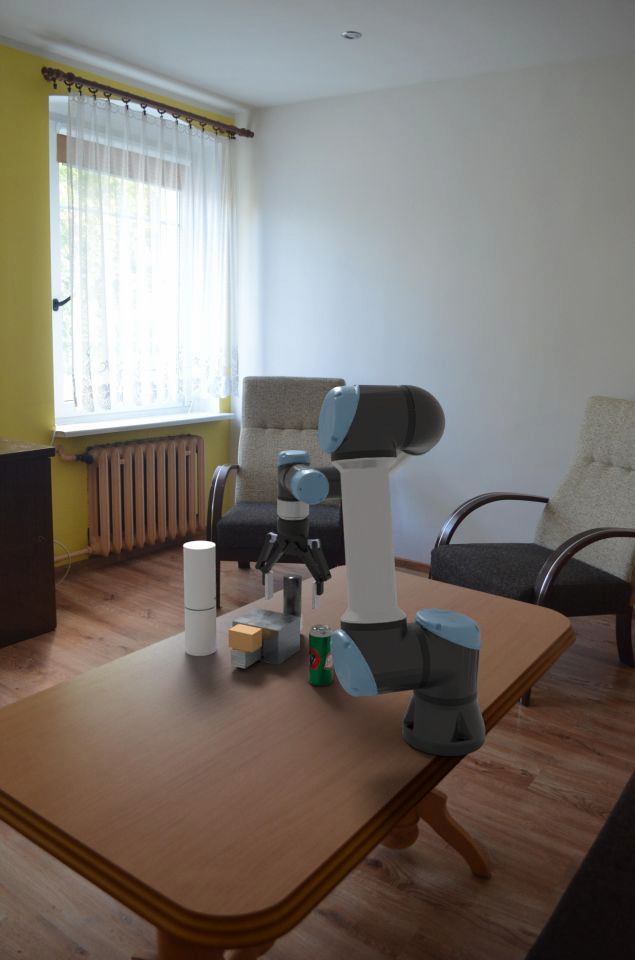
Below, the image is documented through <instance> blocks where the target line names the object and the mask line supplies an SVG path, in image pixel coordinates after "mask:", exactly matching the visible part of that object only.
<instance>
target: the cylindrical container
mask: <svg viewBox="0 0 635 960" xmlns="http://www.w3.org/2000/svg"><path fill="white" fill-rule="evenodd" d="M182 547H183V550H182V551H183V596H184V597H183V601H184V602H183V603H184V604H183V605H184V606H183V607H184V645H185V646H184V649H185V650H184V651H185V653H186V654H187V655H190V656H194V657H204V656H209V655H212V654H214V653H216V652H217V582H216V581H217V580H216V579H217V575H216V571H217V570H216V569H217V568H216V554H217V553H216V543H215V542H213V541H208V540H193V541H188V542H185V543H183V545H182Z"/></svg>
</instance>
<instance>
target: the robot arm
mask: <svg viewBox="0 0 635 960" xmlns="http://www.w3.org/2000/svg"><path fill="white" fill-rule="evenodd" d="M322 401H323V402H322V404H321V408H320V412H319V416H318V417H319V418H318V425H317V434H318V435H317V437H318V442H319V447H320V449H321V451H322V452H323V453H326V454H327V455H330V464H331V465H328V466H327V465H326V466H325V465H324V466H323V465H322V466H320V465H319V466H311V459H310V453H309V452H308V451H305V450H298V449H296V450H294V449H293V450H291V449H290V450H283V451H281V452H279V453H278V455H277V465H276V469H277V473H276V474H277V486H276V487H277V494H276V495H277V496H276V497H277V501H276V502H277V503H276V504H277V505H276V508H277V509H276V514H277V518H276V519H277V520H276V521H277V522H276V531H277V534H276V533H275V532H274V531H271V532H268V533H267V534H265V540H264V545H263V547H262V549H261V551H260V553H259V556H258V558H257V561H256V563H255V565H254V568H255V569H256V570H257V571H258V570H259V571H260V572H261V574H262V575H261V576H262V578H261V580H262V583H261V584H262V586H264V600H265V601H269V600H270V599H272V598H274V571H272V568H273V567H274V566H275V565H276V564H277V562H278V561H279V559H280V558H282V556H283V554H285V555H292V556H293V557H294V556H295V557H297V556H298V558H299V559H301V560H302V562H303V563H304V565H305V567H306V568H307V570H308V571H309V573H310V575H311V576H312V578H313V579H314V581H312V586H311V587H312V588H311V589H312V591H311V592H312V597H311V600H312V601H311V604H312V605H311V607H312V608H311V609H312V610H316V609H318V608H320V607H321V596H322V595H324V590H325V587H324V585H325V584H324V583H325V582H327V581H329V580H330V579H332V573H331V571H330V569H329V565H328V563H327V560H326V557H325V555H324V551H323V549H322V540H321V539H320V538H316V539H310V538H309V531H310V517H308V516H309V515H310V505H317V504H319V503H322V502H323V501H328V500H330V501H331V500H341V503H342V505H341V506H342V521H343V538H344V539H343V541H344V553H345V554H344V555H345V556H344V557H345V572H346V573H345V574H346V575H345V576H346V590H347V605H348V607H347V609H346V611H344V613H343V614H342V615H341V616H340V620H339V621H340V628H337V629H336V630H334V631H332V632H333V633H332V635H331V641H330V649H331V657H332V661H333V669H334V672H335V674H336V677H337V679H338V682H339V684H340V685H341V687H342V688H343V689H344V691H345V692H346V693H347V694H348V695H350V696H352V697H356V698H357V697H368V696H369V697H370V696H371V697H377V696H378V695H379V696H380V695H386V694H393V693H401V692H406V691H412V694H411V697H410V699H409V702H408V704H407V707H406V709H405V712H404V714H403V717H402V721H401V735H402V737H403V740H404V741H405V742H407V744H408V745H410V746H411V747H412V748H415V749H416V750H419V751H421V752H424V753H426V754H431V755H435V756H443V757H460V756H465V755H469V754H473V753H474V752H476V751H478V750H480V749H481V748H482V747H483V746H484V744H485V740H486V726H485V722H484V718H483V715H482V712H481V711H482V710H481V708H480V704H479V701H478V693H479V692H478V690H479V673H480V656H481V649H482V643H481V638H482V637H481V628H480V626H479V624H478V622H476V621H475V620H474V619H473V618H471V617H470V616H468V615H465V614H463V613H460V612H457V611H454V610H449V609H443V608H434V607H433V608H422V609H420V610H418V611H417V612H416V614H415V616H414V621H413V622H408V618H407V613H405V612H404V611H403V610H402V609H401V608H400V607H399V605H398V599H397V581H396V580H397V578H396V566H395V549H394V531H393V517H392V516H393V515H392V514H393V513H392V499H391V498H392V497H391V483H390V482H391V481H390V478H391V477H392V476H393V475H394V474H395V473H397V472H398V471H399V470H400V469H402V468H403V467H404V466H405V465H406V464H408V462H409V461H411V460H412V459H413V458H414V457H420V456H423V455H426V454H427V453H429V452H430V451H431V450H433V449H434V447H436V446H437V445H438V443H439V442H440V441H441V440H442V437H443V435H444V433H445V428H446V416H445V415H446V414H445V412H444V408H443V407H442V405H441V404H440V401H439V400H438V399H437V398H436V397H435V396H434V395H433V394H432V393H431V392H430V391H428V390H426V389H424V388H422V387H419V386H415V385H411V384H401V385H396V384H395V385H391V384H388V385H386V384H375V385H374V384H352V385H350V384H349V385H343V386H341V385H339V386H336V387H333V388H332V389H330V390H329V391H328V392H327V393H326V395H325V397H324V400H322ZM275 542H276V543H278V547H277V548H276V549H275V551H274V553H273V554H272V555H271V557H270V554H271V551H272V548H273V546H274V544H275ZM308 546H309V547H308ZM309 548H310V549H311V551H312V555H313V557H312V555H311V551H310V549H309ZM269 557H270V558H269ZM268 558H269V559H268ZM267 560H268V561H267Z"/></svg>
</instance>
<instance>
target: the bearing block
mask: <svg viewBox="0 0 635 960" xmlns="http://www.w3.org/2000/svg"><path fill="white" fill-rule="evenodd" d="M231 624H232V626H231V628H232V627H234V626H236V625H238V624H242V625H247V626H251V627H256V628H261V629H262V640H263V641H264V656H263V657H261V658H260V659H258V660H257V661H260V662H262V663H267V664H272V665H276V666H280V665H281V664H282V663H283V662H285V661H286V660H288V659H289V658H290V657H292V656H293V655H294V654H296V653H297V652H298V651H300V649H301V631H300V617H299V616H294V615H289V614H284V613H283V612H278V611H275V610H274V611H273V610H268V609H263V608H259V607H255V608H252V609H251V610H249V611H247V612H245V613H244V614H243V615H241V616H239V617H237V618H235V619H234V620H232V623H231Z"/></svg>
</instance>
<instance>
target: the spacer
mask: <svg viewBox="0 0 635 960" xmlns="http://www.w3.org/2000/svg"><path fill="white" fill-rule="evenodd" d="M261 646H262V629H261V628H256V627H251V626H247V625H242V624H238V625H236V626H234V627H232V626H231V628H230V629H228V647H229V648H231V649H233V648H235V649H240V650H244V651H248V652H254V651H255V650H257V649H258V648H260V647H261Z"/></svg>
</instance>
